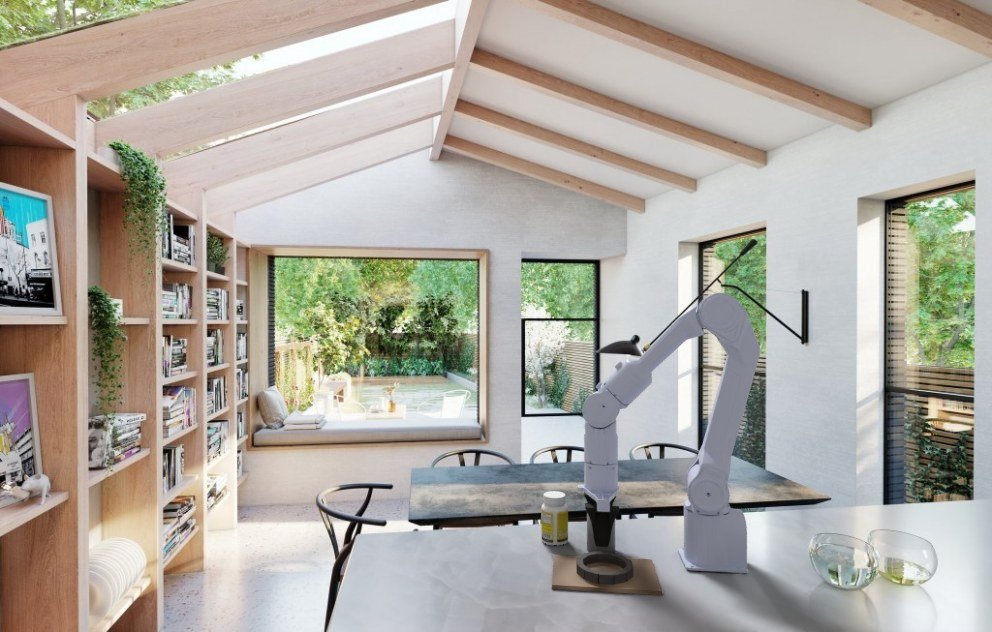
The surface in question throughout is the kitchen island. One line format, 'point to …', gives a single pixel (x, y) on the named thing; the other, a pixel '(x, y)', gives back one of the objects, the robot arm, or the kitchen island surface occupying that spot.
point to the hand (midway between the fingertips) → (601, 539)
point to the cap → (591, 543)
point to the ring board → (605, 573)
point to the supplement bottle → (554, 518)
